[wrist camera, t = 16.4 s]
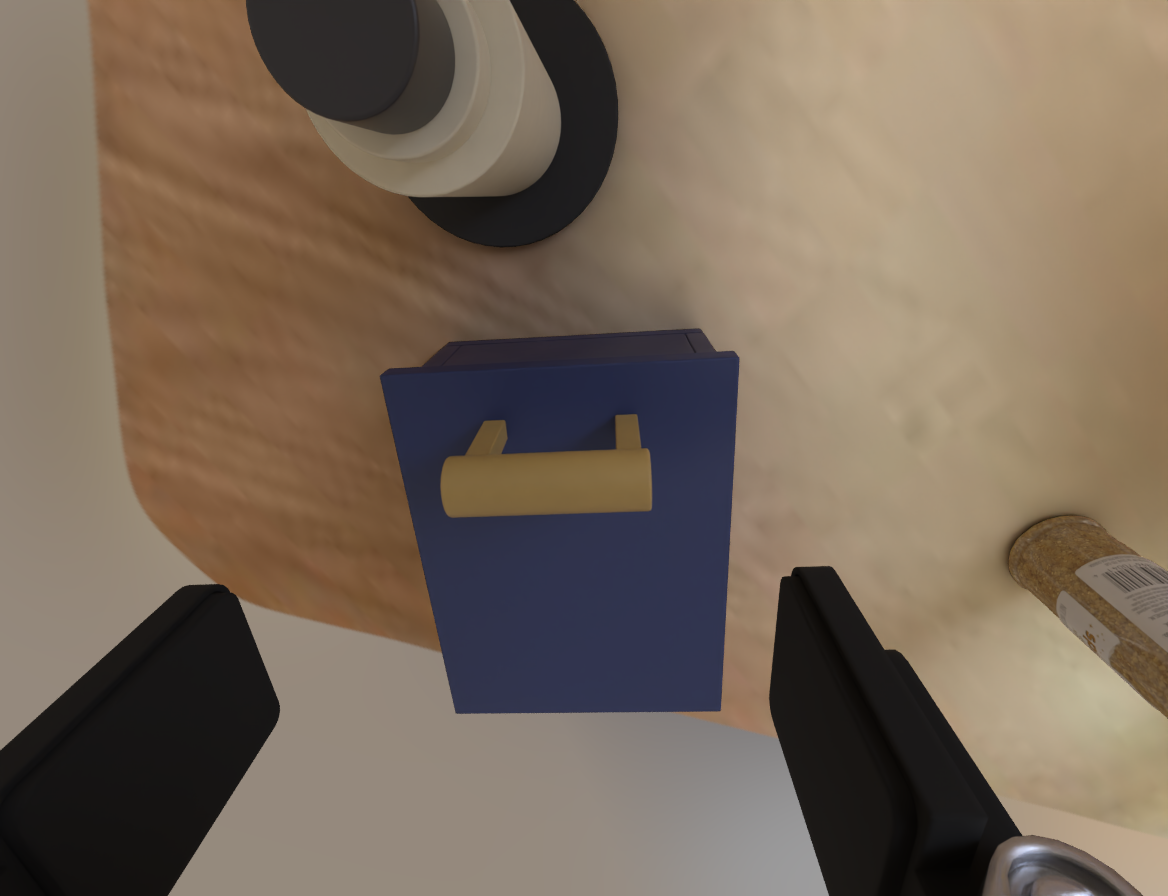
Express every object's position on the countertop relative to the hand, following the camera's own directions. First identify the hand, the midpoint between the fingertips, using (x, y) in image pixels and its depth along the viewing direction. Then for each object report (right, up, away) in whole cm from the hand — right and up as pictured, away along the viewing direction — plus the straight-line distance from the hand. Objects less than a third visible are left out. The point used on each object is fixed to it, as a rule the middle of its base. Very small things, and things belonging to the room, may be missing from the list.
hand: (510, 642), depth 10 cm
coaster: (-2, +16, +11) cm, 19 cm away
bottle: (-2, +15, +11) cm, 19 cm away
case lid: (+1, -1, +11) cm, 11 cm away
